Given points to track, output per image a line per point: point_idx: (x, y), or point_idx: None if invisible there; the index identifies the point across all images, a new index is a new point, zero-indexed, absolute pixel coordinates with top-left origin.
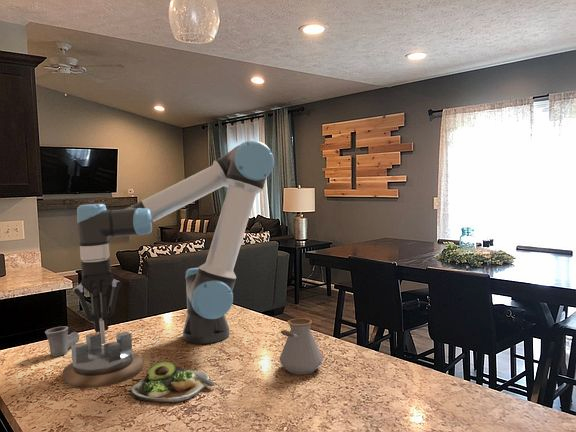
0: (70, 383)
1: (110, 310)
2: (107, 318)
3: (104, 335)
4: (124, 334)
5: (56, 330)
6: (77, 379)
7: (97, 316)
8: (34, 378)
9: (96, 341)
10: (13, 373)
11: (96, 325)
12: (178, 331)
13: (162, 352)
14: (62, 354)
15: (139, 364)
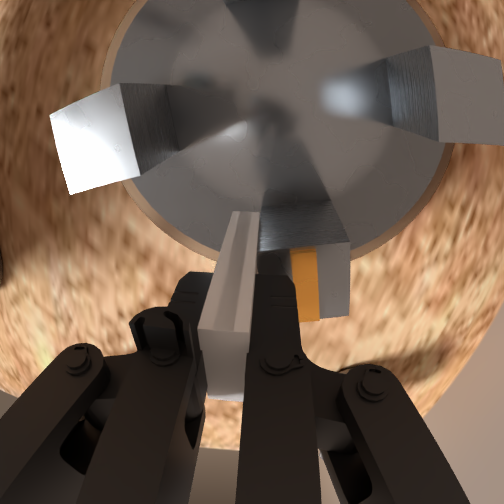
0: None
1: (70, 408)
2: (144, 327)
3: (229, 236)
4: (88, 117)
5: None
6: (425, 14)
7: (269, 395)
8: (482, 235)
9: (294, 225)
10: (484, 313)
11: (285, 319)
12: (21, 321)
13: (42, 180)
14: (346, 370)
15: (134, 3)
